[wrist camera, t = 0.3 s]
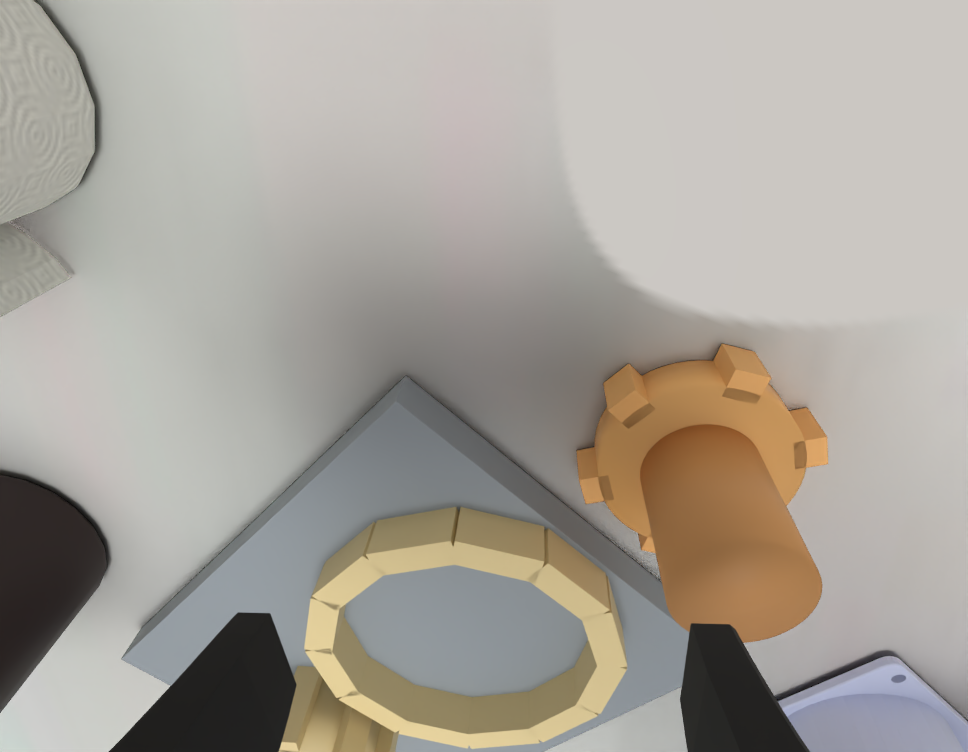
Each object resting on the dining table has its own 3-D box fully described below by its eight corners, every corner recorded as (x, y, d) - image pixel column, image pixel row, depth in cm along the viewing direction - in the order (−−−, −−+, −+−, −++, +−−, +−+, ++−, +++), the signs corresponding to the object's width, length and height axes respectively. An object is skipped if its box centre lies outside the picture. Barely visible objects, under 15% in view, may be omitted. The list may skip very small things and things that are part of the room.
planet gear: (847, 449, 19) (959, 609, 14) (675, 551, 22) (716, 715, 17) (707, 302, 17) (779, 425, 12) (536, 434, 20) (535, 581, 15)
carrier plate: (718, 629, 24) (753, 747, 20) (416, 781, 32) (399, 888, 28) (406, 375, 19) (371, 466, 15) (141, 628, 27) (73, 731, 23)
